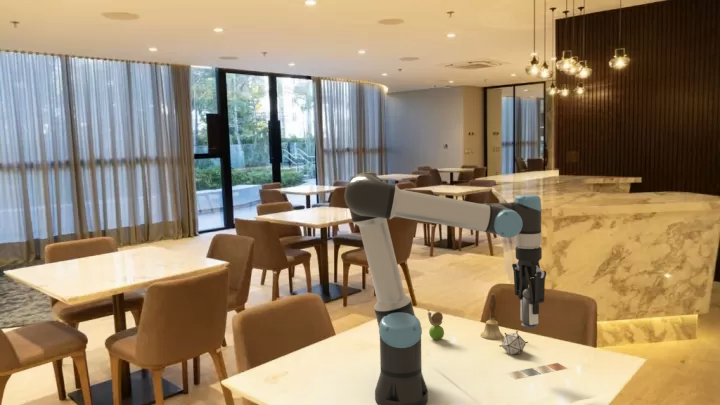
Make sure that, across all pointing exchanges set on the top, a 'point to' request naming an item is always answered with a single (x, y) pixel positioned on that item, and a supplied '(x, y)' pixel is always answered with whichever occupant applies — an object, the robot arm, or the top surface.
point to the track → (533, 372)
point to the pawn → (526, 310)
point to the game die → (513, 343)
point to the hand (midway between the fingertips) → (529, 321)
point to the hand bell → (492, 323)
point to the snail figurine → (436, 325)
